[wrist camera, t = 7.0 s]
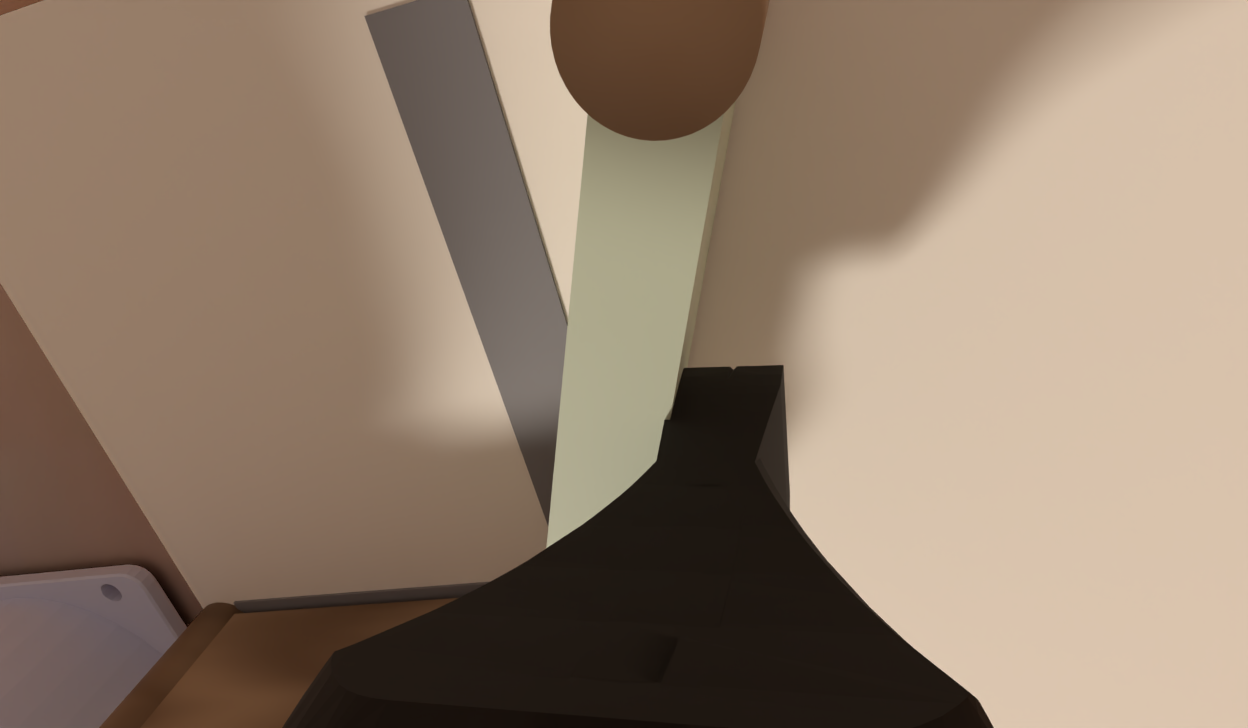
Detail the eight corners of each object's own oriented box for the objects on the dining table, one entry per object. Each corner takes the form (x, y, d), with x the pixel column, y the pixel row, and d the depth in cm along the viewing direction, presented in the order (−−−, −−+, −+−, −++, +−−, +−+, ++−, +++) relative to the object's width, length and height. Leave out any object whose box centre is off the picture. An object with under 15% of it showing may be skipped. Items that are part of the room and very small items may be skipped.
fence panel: (659, 578, 15) (608, 843, 11) (579, 561, 15) (495, 815, 11) (781, -63, 10) (783, -75, 5) (658, -79, 10) (559, -105, 6)
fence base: (220, 653, 19) (45, 872, 14) (189, 604, 18) (-4, 817, 14) (661, 629, 16) (615, 894, 12) (642, 569, 15) (585, 826, 11)
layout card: (310, 755, 21) (301, 771, 21) (-113, 60, 14) (-140, 63, 13) (1269, 743, 15) (1283, 764, 15) (1438, -482, 8) (1472, -505, 7)
